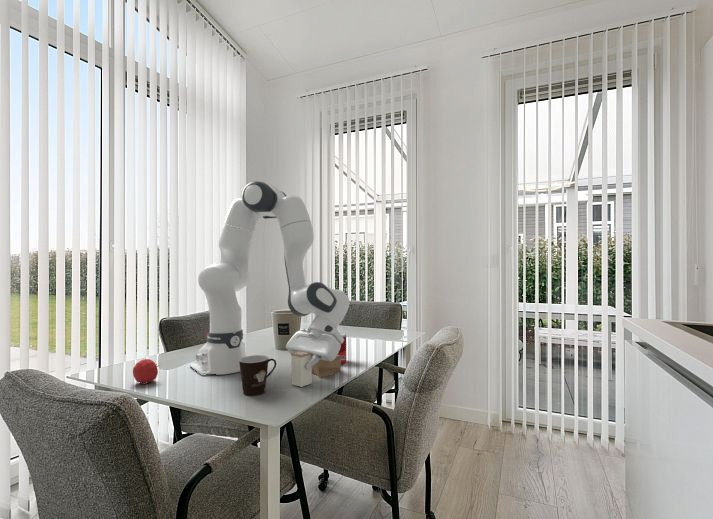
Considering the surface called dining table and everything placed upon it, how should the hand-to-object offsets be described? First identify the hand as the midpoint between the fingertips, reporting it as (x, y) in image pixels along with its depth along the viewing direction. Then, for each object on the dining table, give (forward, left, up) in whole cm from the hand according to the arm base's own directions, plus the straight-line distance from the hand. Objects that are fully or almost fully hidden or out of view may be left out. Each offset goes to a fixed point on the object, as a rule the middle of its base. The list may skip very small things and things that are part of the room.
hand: (300, 367), depth 114 cm
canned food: (-8, +27, -6) cm, 28 cm away
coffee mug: (-6, -11, -6) cm, 14 cm away
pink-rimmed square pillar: (0, +1, -5) cm, 5 cm away
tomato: (-43, -28, -6) cm, 52 cm away
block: (-4, +15, -6) cm, 16 cm away
